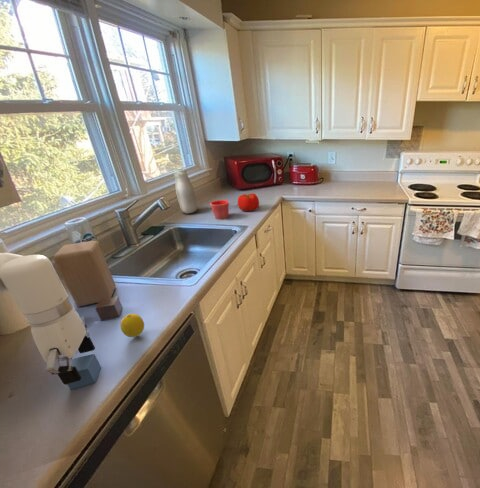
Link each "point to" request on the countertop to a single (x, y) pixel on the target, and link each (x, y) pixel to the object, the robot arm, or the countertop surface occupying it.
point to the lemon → (132, 325)
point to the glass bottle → (185, 192)
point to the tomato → (248, 202)
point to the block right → (109, 308)
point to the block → (85, 272)
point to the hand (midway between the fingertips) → (81, 365)
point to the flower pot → (220, 209)
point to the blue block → (85, 370)
